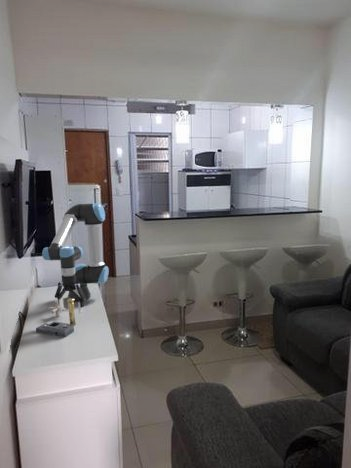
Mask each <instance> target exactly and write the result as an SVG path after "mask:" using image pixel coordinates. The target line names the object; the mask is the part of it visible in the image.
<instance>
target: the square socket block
mask: <svg viewBox="0 0 351 468" xmlns="http://www.w3.org/2000/svg"><path fill="white" fill-rule="evenodd" d="M74 326H75V325H72V324H70V323H66V322H62V321H61V322H59V321H52V322H50V323H46V322H44V323H43V324H41V325H39V326H37V327H36V328H35V332H37V333H42V334H47V335H52V336H57V337H63V338H67V337H68V336H70V335H71V334H73V333H74V332H75V327H74Z"/></svg>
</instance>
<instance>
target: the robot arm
mask: <svg viewBox="0 0 351 468" xmlns="http://www.w3.org/2000/svg"><path fill="white" fill-rule="evenodd" d="M105 220H106V211H105V208H104V206H103V205H102V204H101V203H78V204H74V205H73V206H72V207H70V208H68V210H66V212H65V213H64V215H63V216H62V222H61V224H60V227H59V228H58V230H57V232H56V233H55V236H54V238H53V240H52V241H51V243H50V245H49V247H48V246H46V247H44V248H43V249H42V253H41V254H42V255H41V257H42V258H43V260H45V261H51V262H52V261H60V273H61V281H59V282H58V283H57V288H56V290H55V291H56V292H55V294H54V298H55V299H57V300H58V306H59V309H60V310H59V312H60V311H61V310H63V309H64V308H65V307H64V306H65V305H64V298H63V296H64V295H65V294H66V292H68V295H67V299H69V298H74V302H78V303H77V304H78V305H77V306H78V313H79V314H82V313H84V307H85V306H84V305H85V304H84V302H85V301H87V300H88V299H90V298H91V292H90V289H89V286H88V284H97V285H98V284H105V283H106V282H107V280H108V277H109V272H110V271H109V267H108V266H107V265H106V263H105V262H104V259H103V247H102V246H103V245H102V244H103V243H102V230H101V227H102V225H103V222H104V221H105ZM79 222H83V223H84V225H85V227H86V228H87V240H88V241H87V242H88V258H89V262H88V263H87V265H86V263H78V264H75V262H76V261H77V260H79V259H81V258H82V257H83V255H84V249H83V248H82V247H81V246H79V245H75V246H66V244H67V242H68V239H70V236H71V233H72V231H73V229H74V227H75V226H76V225H77V224H78V223H79Z"/></svg>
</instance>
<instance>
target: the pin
mask: <svg viewBox="0 0 351 468" xmlns="http://www.w3.org/2000/svg"><path fill="white" fill-rule="evenodd" d="M66 303H67V305H68V315H69V324H72V325H74V326H75V325H76V315H75V301H74V298H69V299H68V298H67V299H66Z"/></svg>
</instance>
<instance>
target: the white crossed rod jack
mask: <svg viewBox="0 0 351 468" xmlns="http://www.w3.org/2000/svg"><path fill="white" fill-rule="evenodd" d="M48 310H49V311H51V314H55V318H60V309H59V304H58V299H57V300H54V306H49V307H48ZM61 311H62V312H64V311H66V307H64V309H63V310H61Z"/></svg>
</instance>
